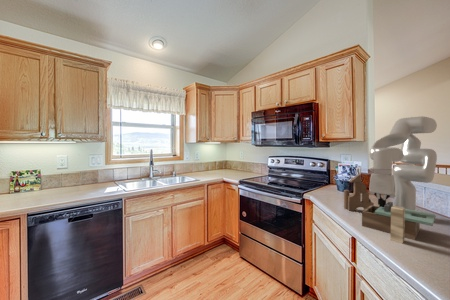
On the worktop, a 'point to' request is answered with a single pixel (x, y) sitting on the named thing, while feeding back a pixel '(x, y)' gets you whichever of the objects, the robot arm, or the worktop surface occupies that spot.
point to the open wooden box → (387, 223)
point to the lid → (409, 215)
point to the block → (397, 224)
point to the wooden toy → (357, 195)
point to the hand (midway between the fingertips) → (381, 206)
